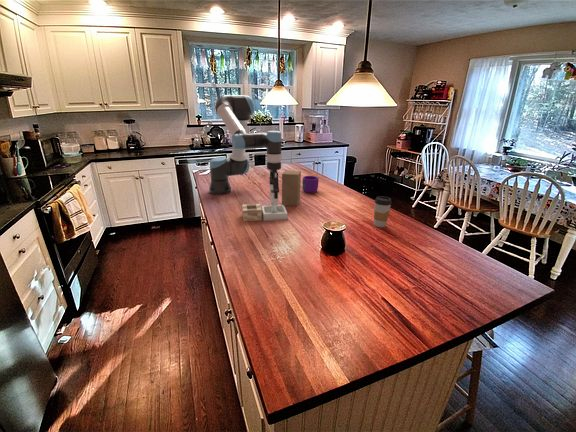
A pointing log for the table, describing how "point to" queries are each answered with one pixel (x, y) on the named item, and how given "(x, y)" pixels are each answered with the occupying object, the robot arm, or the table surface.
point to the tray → (270, 216)
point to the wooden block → (291, 187)
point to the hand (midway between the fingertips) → (273, 199)
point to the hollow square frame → (251, 212)
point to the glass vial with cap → (273, 206)
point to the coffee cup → (381, 211)
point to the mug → (310, 184)
